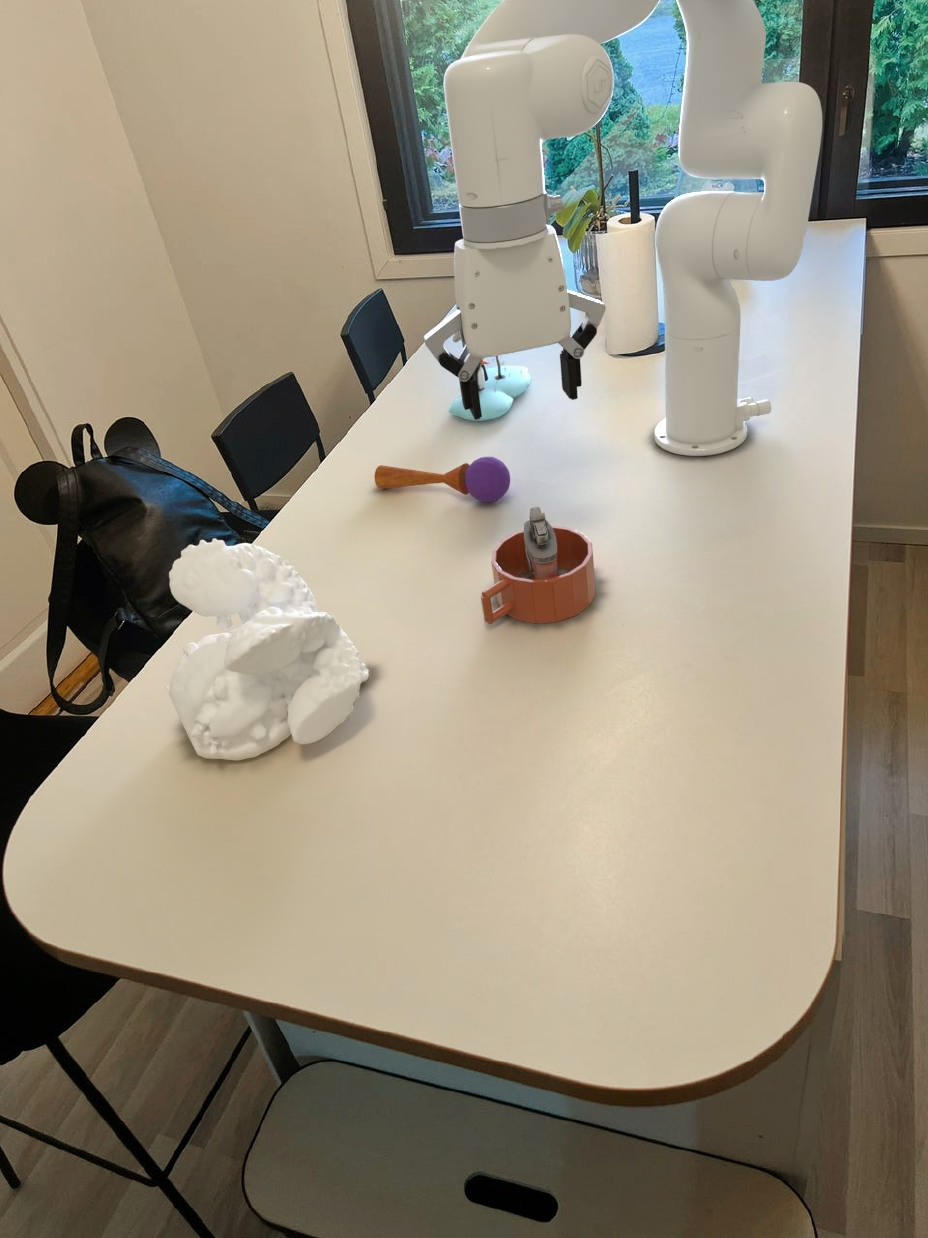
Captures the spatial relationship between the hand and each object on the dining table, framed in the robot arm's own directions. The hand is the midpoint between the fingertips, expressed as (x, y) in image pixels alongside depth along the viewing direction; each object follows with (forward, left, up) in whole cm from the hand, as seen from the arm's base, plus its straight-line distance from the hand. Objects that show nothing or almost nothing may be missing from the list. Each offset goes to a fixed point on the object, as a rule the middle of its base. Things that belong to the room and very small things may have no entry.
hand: (523, 404), depth 86 cm
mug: (+2, +2, -22) cm, 22 cm away
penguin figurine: (-6, -55, -22) cm, 59 cm away
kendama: (+7, -27, -22) cm, 35 cm away
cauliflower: (+30, +11, -22) cm, 39 cm away
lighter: (0, +1, -22) cm, 22 cm away
